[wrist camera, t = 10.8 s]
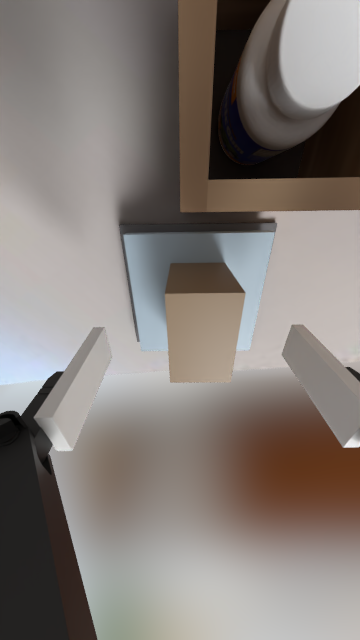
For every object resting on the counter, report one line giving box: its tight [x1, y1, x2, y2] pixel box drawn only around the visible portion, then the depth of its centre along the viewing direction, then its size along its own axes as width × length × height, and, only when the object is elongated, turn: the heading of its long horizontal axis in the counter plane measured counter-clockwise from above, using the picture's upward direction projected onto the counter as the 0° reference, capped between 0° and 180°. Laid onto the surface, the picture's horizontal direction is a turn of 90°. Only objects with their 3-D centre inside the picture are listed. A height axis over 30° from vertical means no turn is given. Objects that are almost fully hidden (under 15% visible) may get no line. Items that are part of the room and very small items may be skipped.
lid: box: [123, 230, 275, 382], centre depth 18 cm, size 13×13×9 cm
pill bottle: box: [218, 0, 360, 165], centre depth 11 cm, size 5×5×10 cm
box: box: [178, 0, 360, 212], centre depth 10 cm, size 11×11×12 cm
